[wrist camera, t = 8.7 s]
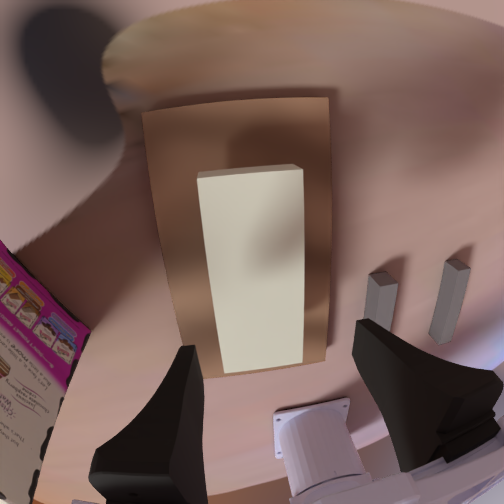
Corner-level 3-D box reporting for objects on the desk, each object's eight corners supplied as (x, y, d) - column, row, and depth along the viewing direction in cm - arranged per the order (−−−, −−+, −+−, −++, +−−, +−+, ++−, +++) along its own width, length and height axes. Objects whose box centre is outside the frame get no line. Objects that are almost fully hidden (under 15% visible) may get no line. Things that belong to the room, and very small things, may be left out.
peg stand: (320, 352, 26) (332, 377, 23) (192, 369, 25) (192, 397, 22) (321, 98, 18) (340, 95, 15) (145, 113, 17) (133, 111, 15)
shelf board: (198, 172, 16) (196, 178, 14) (292, 163, 17) (303, 169, 15) (222, 353, 21) (224, 373, 19) (295, 343, 21) (302, 362, 20)
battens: (440, 330, 28) (450, 341, 26) (358, 352, 27) (367, 366, 25) (457, 258, 25) (470, 268, 23) (368, 274, 24) (380, 286, 22)
